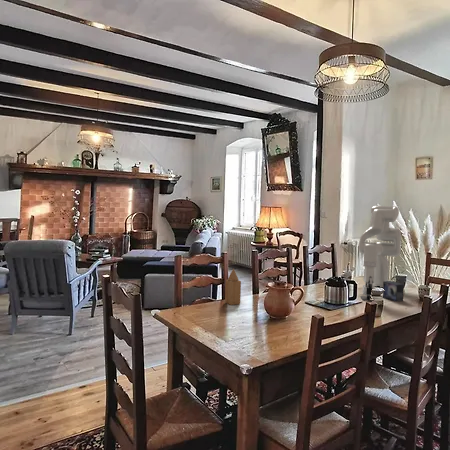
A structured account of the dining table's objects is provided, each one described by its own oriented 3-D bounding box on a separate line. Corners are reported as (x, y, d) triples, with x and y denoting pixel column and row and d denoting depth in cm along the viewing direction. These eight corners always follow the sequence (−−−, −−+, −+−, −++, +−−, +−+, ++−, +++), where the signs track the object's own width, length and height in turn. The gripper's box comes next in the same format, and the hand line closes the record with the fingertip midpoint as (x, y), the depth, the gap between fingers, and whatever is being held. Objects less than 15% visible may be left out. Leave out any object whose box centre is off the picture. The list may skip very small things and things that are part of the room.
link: (362, 292, 238) (362, 284, 237) (372, 293, 236) (373, 285, 236) (363, 295, 232) (364, 286, 232) (374, 295, 231) (374, 287, 230)
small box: (381, 297, 240) (382, 281, 239) (389, 296, 242) (390, 280, 242) (395, 301, 230) (396, 284, 229) (403, 300, 233) (404, 283, 232)
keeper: (360, 297, 239) (360, 286, 239) (373, 298, 237) (374, 287, 237) (362, 300, 231) (362, 289, 231) (376, 301, 230) (376, 290, 229)
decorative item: (234, 301, 221) (235, 267, 219) (240, 304, 215) (241, 268, 214) (224, 302, 217) (225, 267, 216) (231, 305, 212) (232, 269, 210)
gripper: (361, 261, 242) (360, 289, 243) (365, 266, 225) (364, 296, 226) (374, 262, 241) (372, 290, 242) (379, 266, 224) (377, 297, 225)
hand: (368, 293), depth 234 cm, fingers closed on link, 6 cm apart
